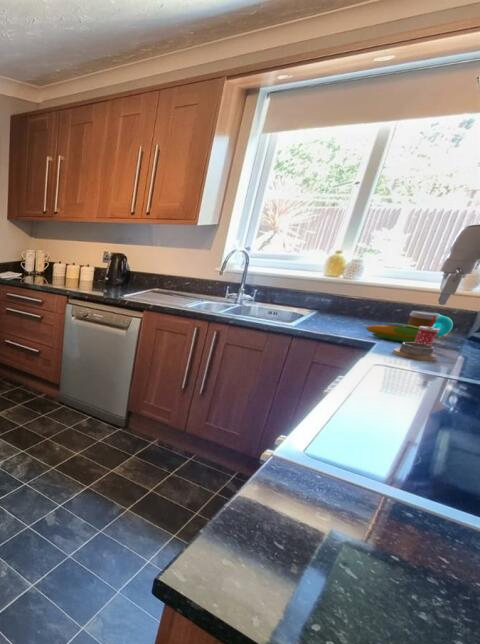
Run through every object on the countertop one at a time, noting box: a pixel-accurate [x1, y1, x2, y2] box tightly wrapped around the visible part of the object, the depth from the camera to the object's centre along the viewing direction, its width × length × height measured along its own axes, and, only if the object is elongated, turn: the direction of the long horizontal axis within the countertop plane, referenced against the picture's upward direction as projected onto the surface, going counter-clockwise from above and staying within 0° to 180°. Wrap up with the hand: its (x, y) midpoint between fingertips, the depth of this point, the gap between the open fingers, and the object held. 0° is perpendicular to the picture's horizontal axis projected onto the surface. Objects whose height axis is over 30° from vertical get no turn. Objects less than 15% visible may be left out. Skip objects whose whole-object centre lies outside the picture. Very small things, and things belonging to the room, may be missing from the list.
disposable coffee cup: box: [406, 310, 440, 329], centre depth 191 cm, size 10×10×12 cm
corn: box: [365, 322, 419, 343], centre depth 188 cm, size 7×8×20 cm
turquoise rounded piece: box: [433, 312, 454, 338], centre depth 199 cm, size 10×10×10 cm
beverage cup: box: [414, 316, 440, 346], centre depth 175 cm, size 6×6×14 cm
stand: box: [392, 342, 437, 362], centre depth 166 cm, size 12×12×4 cm
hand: (441, 303), depth 170 cm, fingers open, 8 cm apart
